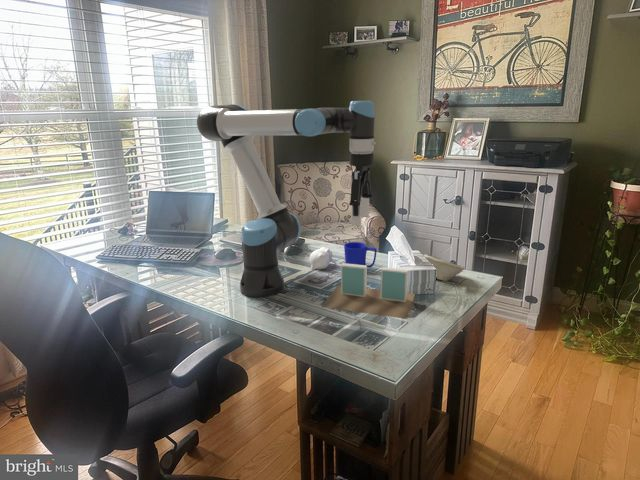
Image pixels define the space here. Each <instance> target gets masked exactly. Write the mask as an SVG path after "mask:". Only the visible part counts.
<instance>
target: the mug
mask: <svg viewBox="0 0 640 480" xmlns="http://www.w3.org/2000/svg"><path fill="white" fill-rule="evenodd" d="M343 250H344V260H345V262H344V263H347V264H357V265H366V266H367V268H372V267H373V266H374V265H375V264H376V258H377V251H378V250H377V248H376V247H371V246H370V247H367V244H365V243H364V242H360V241H352V242H351V241H350V242H346V243H345V244H344V245H343ZM368 251H374V256H373V261H372V263H371V264H370V265H368V264H367V252H368Z"/></svg>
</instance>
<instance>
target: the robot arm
mask: <svg viewBox="0 0 640 480" xmlns="http://www.w3.org/2000/svg"><path fill="white" fill-rule="evenodd" d="M375 118H376V115H375V103H374V101H372V100H352V101H350V102H349V107H325V106H324V107H317V108H311V107H310V108H300V109H297V108H294V109H293V108H291V109H263V110H262V109H261V110H260V109H259V110H258V109H257V110H248V109H247V108H246V107H244V106H243V105H239V104H232V103H231V104H224V105H222V104H221V105H218V104H217V105H209V106H206V107H204V108H203V109H202V110H201V111H200V112H199V114H198V115H197V119H196V127H197V129H198V132H199V134H200V135H201V137H204V139H207V140H209V141H211V142H221V143H222V146H223V148H224V150H225V151H228V152H230V153H231V156H232V158H233V160H234V162H235V164H236V167H237V168H238V171H239V173H240V175H241V178H242V179H243V182H244V183H245V186H246V188H247V191H248V192H249V195H250V197H251V199H252V201H253V204H254V206H255V208H256V210H257V213H258V216H257V218H256V219H251V220H249V221H246V222H245V223H244V224H243V225H242V227H241V236H240V239H241V245H242V247H241V248H242V258H243V261H242V262H243V271H242V274H241V278H240V283H239V291H240V292H241V294H243V295H245V296H247V297H253V298H265V297H271V296H274V295H275V296H276V295H277V294H279V293H281V292H283V290H284V289H285V279H284V276H283V275H282V272H281V270H280V267H279V256H278V255H279V254H278V253H280V252H281V251H283V250H284V249H286V248H289V247H291V246H292V245H294V244H295V243H296V242H297V241H298V240H299V238H300V236H301V233H302V225H301V222H300V220H299V218H298V217H297V216H296V215H295V214H293V213H291V212H290V211H289V209H288V207H287V206H286V205H284V204H282V203H281V201H280V200H279V197H278V195H277V193H276V190H275V188H274V186H273V184H272V182H271V179H270V177H269V175H268V172H267V171H266V168H265V165H264V164H263V161H262V159H261V157H260V155H259V152H258V150H257V148H256V145H255V144H254V140H255V137H257V136H258V137H259V136H260V137H261V136H264V137H265V136H266V137H267V136H268V137H269V136H271V137H272V136H304V137H317V136H318V135H325V134H332V133H335V134H336V133H337V134H338V133H346V134H348V133H349V152H350V153H349V165H350V166H353V167H355V169H354V170H355V171H352V173H351V187H350V188H351V190H350V198H349V200H350V201H349V203H348V205H349V206H351V226H354V227H356V226H357V227H361V226H362V218H369V217H370V198H372V196H373V194H372V192H371V191H372V190H371V189H372V188H371V173H370V172H371V166H373V165H374V160H375V159H374V157H375V156H374V153H373V152H374V150H375V149H374V148H375V145H376V143H377V142H376V141H375Z"/></svg>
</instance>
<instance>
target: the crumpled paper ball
mask: <svg viewBox="0 0 640 480" xmlns="http://www.w3.org/2000/svg"><path fill="white" fill-rule="evenodd" d="M331 262H332V263H333V264H334V266H336V267H338V266H339V264H338V263H337V262H336V260H335V259H333V252H332V251H331V250H330V248H328V247H324V246H322V247H321V248H318V249H315V250H314V251H312V252H311V254H310V255H309V263H310V270H311V271H314V270H323V269H327V268H328V267H329V265H330V263H331Z"/></svg>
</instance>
